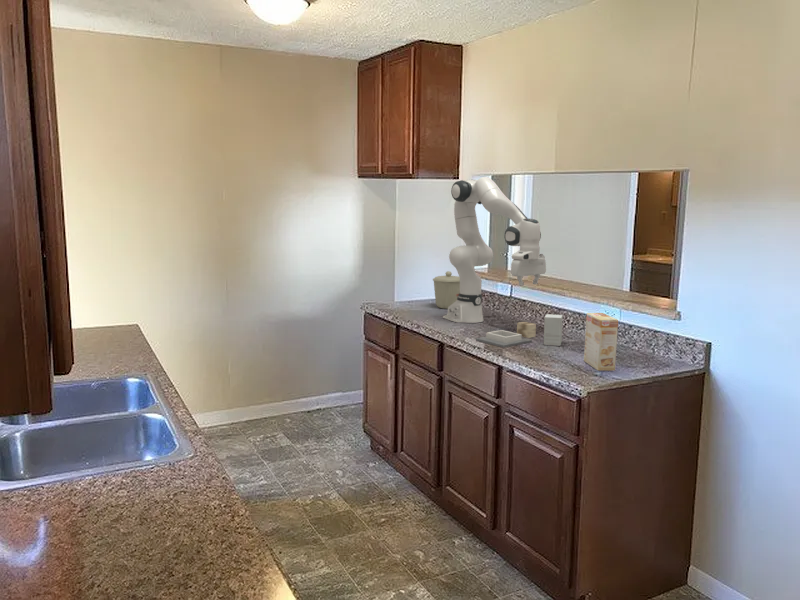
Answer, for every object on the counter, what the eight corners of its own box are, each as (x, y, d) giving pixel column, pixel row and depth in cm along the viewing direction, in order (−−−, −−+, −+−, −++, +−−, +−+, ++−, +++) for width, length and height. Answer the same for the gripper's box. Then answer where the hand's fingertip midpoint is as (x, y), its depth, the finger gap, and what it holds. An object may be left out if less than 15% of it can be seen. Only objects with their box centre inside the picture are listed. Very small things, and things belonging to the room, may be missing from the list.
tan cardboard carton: (516, 335, 307) (517, 322, 306) (524, 334, 310) (524, 321, 310) (528, 338, 302) (528, 325, 301) (535, 336, 305) (536, 324, 304)
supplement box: (561, 342, 293) (563, 314, 291) (560, 346, 286) (561, 317, 284) (545, 341, 295) (546, 313, 293) (542, 345, 288) (544, 316, 286)
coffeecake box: (615, 370, 247) (619, 319, 244) (597, 371, 246) (600, 319, 243) (600, 360, 262) (603, 312, 258) (583, 361, 261) (585, 312, 258)
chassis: (475, 340, 296) (476, 332, 295) (503, 335, 306) (504, 328, 306) (503, 347, 282) (503, 339, 282) (531, 342, 293) (532, 334, 293)
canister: (429, 305, 388) (430, 269, 384) (460, 304, 390) (461, 269, 386) (434, 310, 370) (435, 273, 367) (466, 310, 372) (467, 273, 369)
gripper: (539, 253, 309) (538, 282, 311) (509, 255, 297) (508, 285, 299) (549, 254, 304) (548, 283, 306) (519, 256, 292) (518, 287, 294)
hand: (528, 284), depth 302 cm, fingers open, 8 cm apart
